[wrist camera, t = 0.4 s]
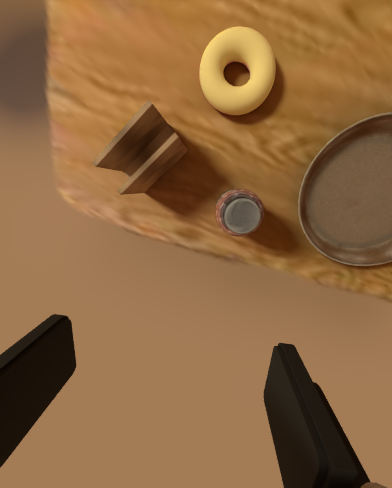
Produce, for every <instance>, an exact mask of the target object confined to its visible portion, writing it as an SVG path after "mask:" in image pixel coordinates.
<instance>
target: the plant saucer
mask: <svg viewBox="0 0 392 488" xmlns="http://www.w3.org/2000/svg"><path fill="white" fill-rule="evenodd" d="M298 214H299V220H300V224H301V227H302V229H303V231H304V233H305V235H306V237H307V239H308V240H309V241H310V243H311V244H312V245H313V246H314V247H315V248H316V249H317V250H318V251H319V252H321V253H322V254H323V255H325V256H327V257H328V258H330V259H332V260H335V261H337V262H340V263H344V264H348V265H355V266H372V265H379V264H385V263H388V262H392V112H391V113H384V114H379V115H375V116H372V117H369V118H366V119H364V120H361V121H359V122H357V123H355V124H353V125H351V126H349V127H348V128H346V129H345V130H343V131H342V132H340V133H339V134H337V135H336V136H335V137H334V138H333V139H331V140H330V141H329V142H328V143H327V144H326V145H325V146H324V147H323V148H322V149H321V151H320V152H319V153H318V154H317V156H316V157H315V158H314V160H313V161H312V163H311V164H310V166H309V168H308V170H307V172H306V174H305V176H304V178H303V181H302V184H301V188H300V192H299V198H298Z"/></svg>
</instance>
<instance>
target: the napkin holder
mask: <svg viewBox="0 0 392 488" xmlns="http://www.w3.org/2000/svg"><path fill="white" fill-rule="evenodd" d="M187 151H188V149H187V148H186V146H185V145H184V144H183V142H182V141H181V140H180V138H179V137H178V136H177V134H176V133H175V132H174V131H173V130H172V129H171V127H170V126H169V125H168V123H167V122H166V121H165V120H164V118H163V117H162V116H161V114H160V113H159V112H158V110H157V109H156V108H155V107H154V105H153V104H152V103H151V101H150V100H149V99H148V101H147V102H146V103H145V104H144V105H143V106H142V107H141V108H140V110H139V111H138V112H137V113H136V114H135V115H134V116H133V117H132V119H131V120H130V121H129V122H128V123H127V124H126V125H125V126H124V127H123V129H122V130H121V131H120V132H119V133H118V134H117V135H116V136H115V138H114V139H113V140H112V141H111V142H110V143H109V144H108V145H107V146H106V148H105V149H104V150H103V151H102V152H101V153H100V154H99V155H98V157H97V158H96V159H95V160H94V161H93V162H92V163H93V164H94V165H95V167H101V168H106V169H112V170H118V171H123V172H124V173H125V175H126V176H127V177H128V178H129V179H128V180H127V181H126V182H125V183H124V184H123V185H122V186H121V187H120V188H119V189H118V190H117V191H118V193H119V194H120V195H122V194H136V193H144V192H146V191H147V190H148V189H149V188H150V187H151V186H152V185H153V184H154V183H155V182H156V181H157V180H158V179H159V178H160V177H161V176H162V175H163V174H164V173H165V172H166V171H167V170H168V169H170V168H171V167H172V166H173V165H174V164H175V163H176V162H177V161H178V160H179V159H180V158H181V157H182V156H183V155H184V154H185V153H186V152H187Z"/></svg>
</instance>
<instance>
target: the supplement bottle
mask: <svg viewBox="0 0 392 488" xmlns="http://www.w3.org/2000/svg"><path fill="white" fill-rule="evenodd" d="M263 216H264V208H263V204H262V202H261V200H260V198H259V197H258V196H257V195H256V194H254V193H253V192H251V191H248V190H244V189H232V190H229V191H227V192H225V193H223V194H222V195H221V196H220V198H219V199H218V201H217V203H216V220H217V222H218V225H219V226H220V228H221V229H222V230H223V231H224V232H226V233H227V234H229V235H232V236H237V237H241V236H246V235H249V234H251V233H252V232H254V231H255V230H256V229H257V228H258V227H259V226H260V224H261V222H262V220H263Z"/></svg>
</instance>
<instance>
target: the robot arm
mask: <svg viewBox="0 0 392 488" xmlns="http://www.w3.org/2000/svg"><path fill="white" fill-rule="evenodd" d="M75 368H76V358H75V350H74V341H73V333H72V324H71V321H70V320H69V318H68V317H67V316H64V315H56V314H54V315H52V316H50V317H49V318H47V319H46V320H45V321H44V322H42V323H41V324H40V325H38V326H37V327H36V328H35V329H33V330H32V331H31V332H29V333H28V334H27V335H26V336H24V337H23V338H22V339H20V340H19V341H18V342H16V343H15V344H14V345H13V346H11V347H10V348H9V349H7V350H6V351H5V352H3V353H2V354H1V355H0V467H1V466H2V465H3V464H4V463H5V461H6V460H7V459H8V457H9V456H10V455H11V454H12V452H13V451H14V450H15V448H16V447H17V446H18V444H19V443H20V442H21V441H22V439H23V438H24V437H25V435H26V434H27V433H28V431H29V430H30V429H31V428H32V426H33V425H34V424H35V422H36V421H37V420H38V418H39V417H40V416H41V414H42V413H43V412H44V411H45V409H46V408H47V407H48V406H49V404H50V403H51V402H52V400H53V399H54V398H55V396H56V395H57V394H58V393H59V391H60V390H61V389H62V387H63V386H64V385H65V383H66V382H67V381H68V380H69V378H70V377H71V376H72V374H73V372H74V371H75ZM264 403H265V407H266V411H267V416H268V420H269V424H270V429H271V433H272V437H273V442H274V445H275V450H276V455H277V459H278V463H279V467H280V472H281V476H282V481H283V485H284V488H387V487H385V486H383V485H380V484H378V483H372V482H370V480H369V478H368V476H367V474H366V472H365V471H364V469H363V467H362V465H361V463H360V461H359V459H358V458H357V456H356V454H355V452H354V450H353V448H352V446H351V445H350V442H349V441H348V438H347V437H346V435H345V433H344V431H343V429H342V427H341V425H340V423H339V422H338V420H337V418H336V416H335V414H334V412H333V410H332V408H331V407H330V405H329V403H328V401H327V399H326V397H325V395H324V393H323V391H322V390H321V388H320V387H319V385H318V384H317V383H314V382H313V381H312V379H311V377H310V376H309V373H308V372H307V370H306V368H305V366H304V364H303V362H302V360H301V358H300V356H299V354H298V352H297V350H296V348H295V346H294V345H292V344H284V343H279V344H278V346H274V349H273V353H272V357H271V362H270V366H269V371H268V376H267V380H266V385H265V389H264Z"/></svg>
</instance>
